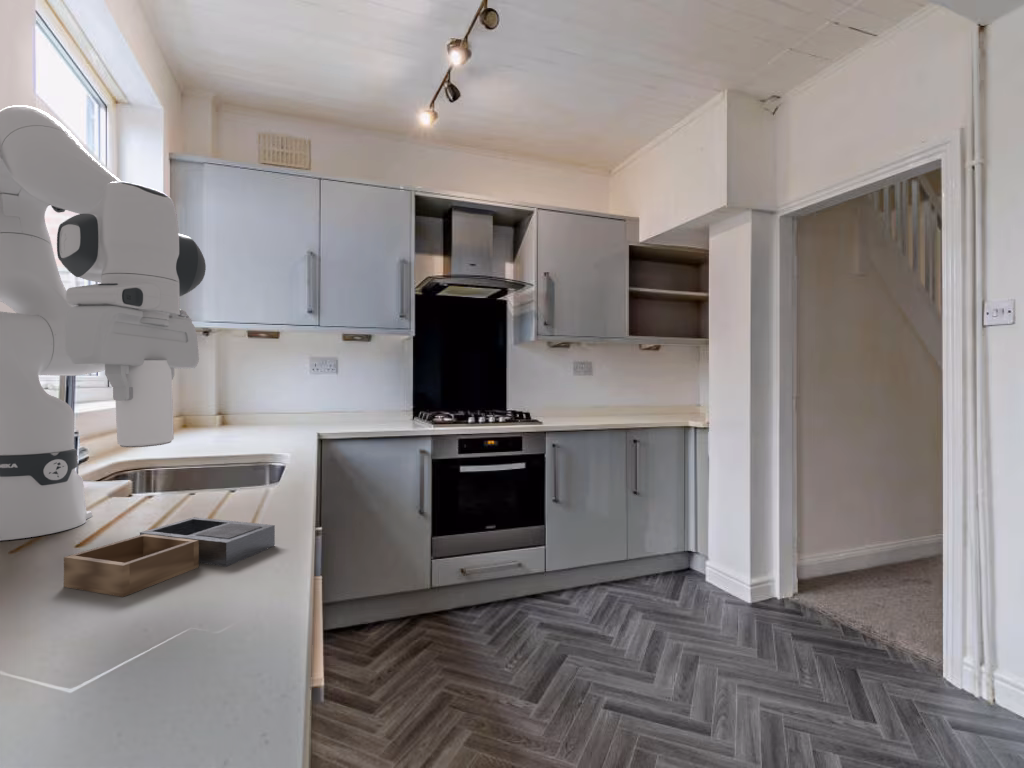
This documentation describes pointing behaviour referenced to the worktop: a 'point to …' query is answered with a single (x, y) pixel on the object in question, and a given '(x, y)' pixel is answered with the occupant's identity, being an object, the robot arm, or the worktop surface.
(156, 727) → the worktop surface
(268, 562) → the worktop surface
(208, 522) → the tray
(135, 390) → the can
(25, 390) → the robot arm
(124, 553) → the box
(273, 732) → the worktop surface
